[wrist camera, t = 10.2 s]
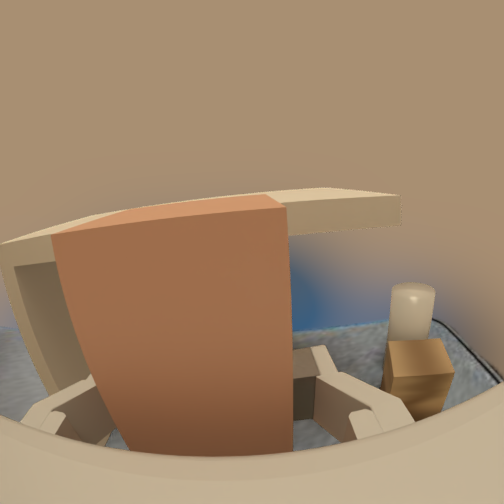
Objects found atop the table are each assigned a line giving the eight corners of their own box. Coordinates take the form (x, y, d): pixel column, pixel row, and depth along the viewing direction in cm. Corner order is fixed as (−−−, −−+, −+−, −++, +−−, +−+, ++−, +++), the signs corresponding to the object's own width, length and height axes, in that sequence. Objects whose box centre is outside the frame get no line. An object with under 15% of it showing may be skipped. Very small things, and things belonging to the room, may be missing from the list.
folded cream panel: (369, 447, 17) (400, 195, 13) (86, 454, 17) (-5, 245, 13) (328, 356, 31) (325, 187, 26) (129, 369, 31) (90, 215, 26)
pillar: (289, 527, 8) (286, 206, 5) (187, 528, 8) (50, 234, 5) (280, 458, 12) (265, 194, 9) (195, 461, 12) (129, 209, 9)
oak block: (380, 429, 19) (393, 376, 17) (379, 391, 23) (388, 340, 22) (434, 425, 17) (454, 372, 16) (427, 389, 22) (440, 338, 20)
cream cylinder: (377, 375, 26) (387, 296, 24) (388, 353, 29) (396, 280, 27) (416, 383, 23) (433, 302, 21) (423, 359, 26) (436, 284, 24)
